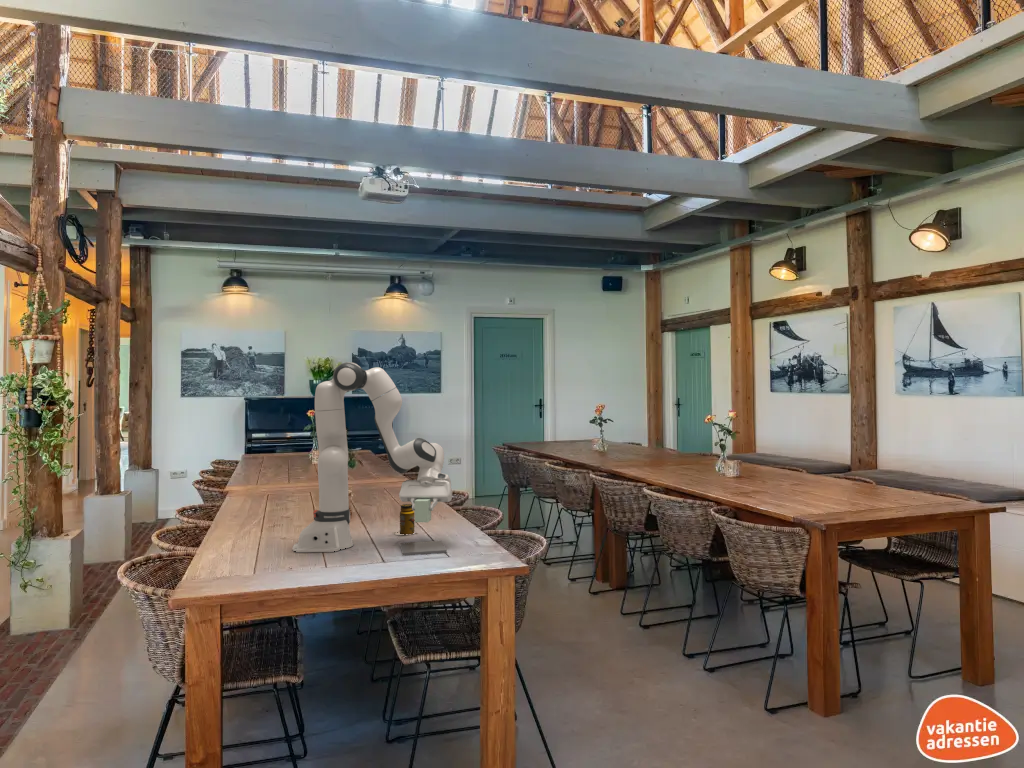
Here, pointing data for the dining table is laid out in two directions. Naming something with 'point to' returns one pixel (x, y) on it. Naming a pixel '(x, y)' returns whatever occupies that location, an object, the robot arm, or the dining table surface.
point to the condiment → (406, 519)
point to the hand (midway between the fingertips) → (422, 509)
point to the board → (423, 547)
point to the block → (422, 510)
